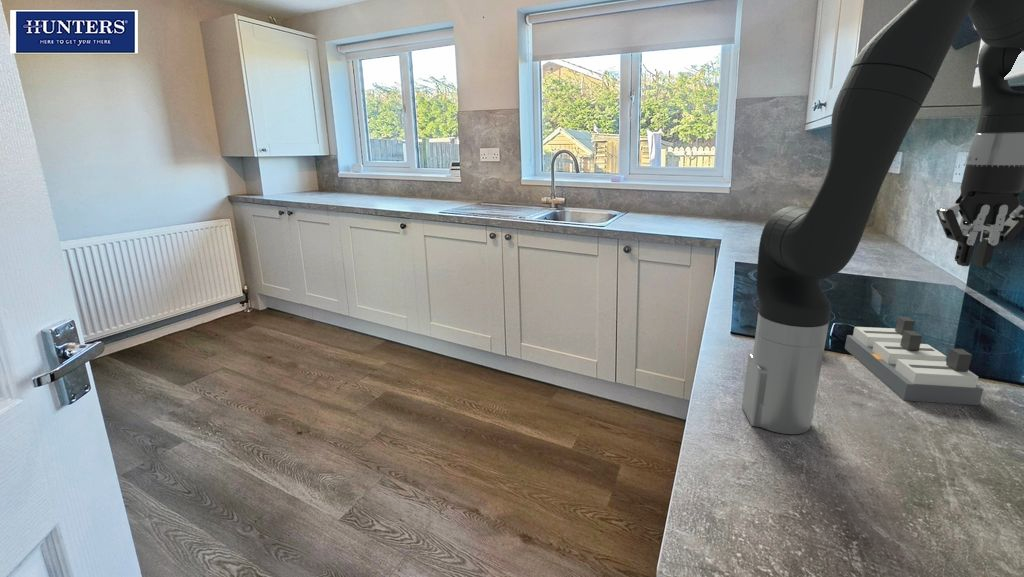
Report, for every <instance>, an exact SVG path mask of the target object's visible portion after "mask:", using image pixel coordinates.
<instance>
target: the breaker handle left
mask: <svg viewBox="0 0 1024 577" xmlns="http://www.w3.org/2000/svg"><path fill="white" fill-rule="evenodd" d="M915 323H916V321H915V320H914V319H912V318H911V317H910V316H909V317H908V316H897V320H896V324H895V328H894V329H895V331H896V332H898V333H899V334H901V335H903V330H905V331H914V328H915Z"/></svg>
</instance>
